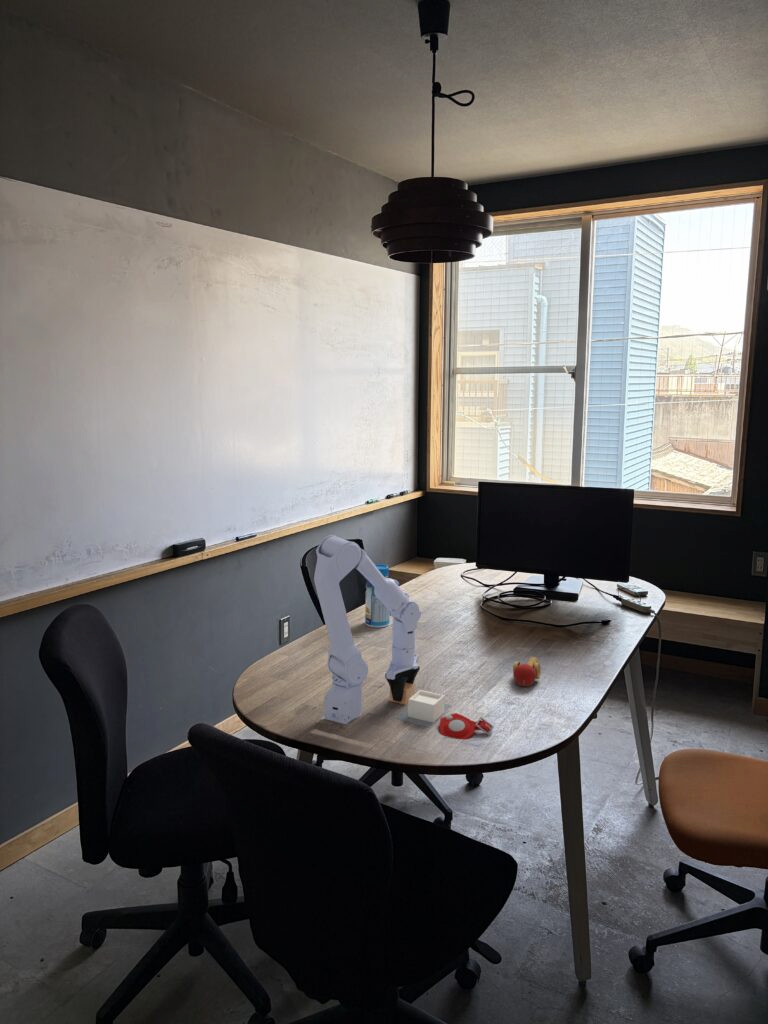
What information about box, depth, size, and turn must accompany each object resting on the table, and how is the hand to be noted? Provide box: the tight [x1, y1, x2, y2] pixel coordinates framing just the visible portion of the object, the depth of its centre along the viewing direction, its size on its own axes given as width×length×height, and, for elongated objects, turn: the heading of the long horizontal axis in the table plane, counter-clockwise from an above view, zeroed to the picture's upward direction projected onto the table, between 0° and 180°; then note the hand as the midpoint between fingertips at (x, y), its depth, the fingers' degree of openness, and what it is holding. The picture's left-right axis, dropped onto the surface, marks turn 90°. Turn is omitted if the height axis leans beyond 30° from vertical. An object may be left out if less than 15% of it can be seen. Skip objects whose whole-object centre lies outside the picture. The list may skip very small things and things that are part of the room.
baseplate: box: [394, 703, 452, 728], centre depth 185 cm, size 14×9×1 cm, turn 153°
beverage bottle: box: [364, 563, 390, 629], centre depth 253 cm, size 8×8×20 cm
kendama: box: [512, 656, 542, 687], centre depth 211 cm, size 8×6×18 cm
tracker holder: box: [438, 712, 495, 740], centre depth 176 cm, size 12×4×10 cm
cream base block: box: [407, 689, 446, 722], centre depth 183 cm, size 7×7×4 cm
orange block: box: [389, 683, 415, 706], centre depth 192 cm, size 5×5×4 cm
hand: (401, 697), depth 192 cm, fingers closed on orange block, 5 cm apart
